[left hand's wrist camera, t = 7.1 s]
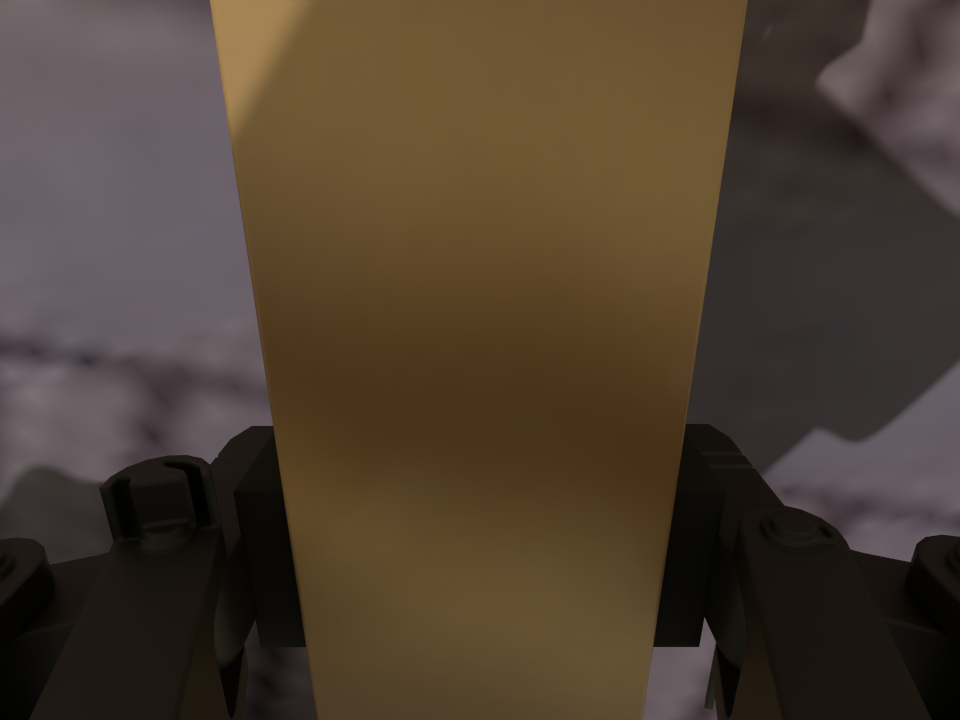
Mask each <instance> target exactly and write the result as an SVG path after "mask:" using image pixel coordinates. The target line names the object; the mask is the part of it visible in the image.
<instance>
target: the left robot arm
mask: <svg viewBox="0 0 960 720" xmlns="http://www.w3.org/2000/svg"><path fill="white" fill-rule="evenodd" d="M99 489H100V492H101V496H102V500H103V503H104V507H105V511H106V514H107V518H108V522H109V525H110V529H111V533H112V536H113V540H114V543H113V545H112V547H111V549H110V551H109V553H105V554H101V555H97V556H93V557H88V558H83V559H78V560H73V561H68V562H63V563H58V564H53V565H49V562H48V559H47V555H46V552H45V549H44V547H43V546H42V545H41V544H39V543H38V542H37V541H35V540H32V539H25V538H10V539H2V540H0V720H243V712H244V703H245V695H246V686H247V678H248V663H247V656H246V651H245V646H244V643H245V641H246V638H247V636H248V634H249V632H250V630H251V628H252V625H253V623H254V621H255V619H256V624H257V629H258V635H259V641H260V646H261V647H306V642H305V636H304V629H303V622H302V616H301V609H300V602H299V595H298V589H297V582H296V575H295V569H294V562H293V555H292V548H291V542H290V535H289V528H288V522H287V515H286V508H285V501H284V495H283V488H282V481H281V475H280V468H279V461H278V455H277V448H276V441H275V434H274V428H273V426H251V427H250V428H248V429H246V430H245V431H243V432H242V433H240V434H238V435H237V436H235V437H233V438H232V439H230V441H229V442H228V443H227V444H226V446H225V447H224V448H223V449H222V451H221V452H220V453H219V454H218V458H215V459H214V461H213V462H212V463H211V464H208V463H207V462H206V461H204V460H203V459H202V458H198V457H193V456H188V455H175V456H164V457H159V458H154V459H149V460H145V461H143V462H140V463H137V464H134V465H132V466H129V467H126V468H125V469H123V470H121V471H120V472H118V473H116V474H115V475H113V476H111V477H110V478H109V479H108V480H107V481H106V482H105V483H104V484H103V485H102V486H101V487H100V488H99ZM704 617H705V619H706V621H707V623H708V625H709V627H710V630H711V632H712V634H713V636H714V638H715V641H716V646H715V651H714V656H713V662H712V667H711V672H710V677H709V683H708V688H707V693H706V700H705V706H704V708H707V709H713V704H714V699H715V702H716V710H717V718H718V720H960V537H957V536H948V535H937V536H930V537H925V538H924V539H923V540H921V541H920V542H919V543H917V545H916V548H915V551H914V554H913V557H912V560H911V562H906V561H901V560H896V559H891V558H886V557H881V556H876V555H871V554H866V553H861V552H857V551H854V550H850V548H849V546H848V544H847V542H846V540H845V539H844V538H843V536H842V535H841V534H840V533H839V531H838V530H837V529H836V528H834V527H833V526H832V525H830V524H829V523H827V522H826V521H824V520H823V519H822V518H820V517H817V516H815V515H813V514H810V513H808V512H806V511H803V510H801V509H796V508H792V507H788V506H784V505H783V503H782V502H781V501H780V500H779V498H778V497H777V496H776V495H775V493H774V492H773V491H772V490H771V488H770V487H769V486H768V485H767V483H766V482H765V481H764V480H763V478H762V477H761V476H760V475H759V473H758V472H757V471H756V470H755V469H752V465H751V463H750V462H749V461H748V460H747V458H746V457H745V456H742V452H741V451H740V450H739V448H738V447H737V446H736V445H735V443H734V442H733V441H732V440H731V439H730V437H728V436H727V435H725V434H723V433H722V432H720V431H718V430H717V429H715V428H714V427H712V426H710V425H709V424H686V426H685V432H684V439H683V446H682V453H681V460H680V467H679V473H678V480H677V487H676V494H675V501H674V507H673V514H672V521H671V528H670V535H669V541H668V548H667V555H666V562H665V569H664V575H663V582H662V589H661V596H660V603H659V610H658V616H657V623H656V630H655V637H654V644H653V647H699V644H700V639H701V633H702V627H703V621H704Z"/></svg>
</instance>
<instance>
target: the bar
mask: <svg viewBox="0 0 960 720" xmlns="http://www.w3.org/2000/svg"><path fill="white" fill-rule="evenodd" d="M747 3H748V0H210V5H211V12H212V19H213V25H214V32H215V39H216V45H217V52H218V59H219V65H220V72H221V79H222V86H223V92H224V99H225V106H226V112H227V119H228V126H229V133H230V139H231V146H232V153H233V159H234V166H235V173H236V180H237V186H238V193H239V200H240V206H241V213H242V220H243V226H244V233H245V240H246V247H247V253H248V260H249V267H250V273H251V280H252V287H253V294H254V300H255V307H256V314H257V320H258V327H259V334H260V340H261V347H262V354H263V361H264V367H265V374H266V381H267V387H268V394H269V401H270V408H271V414H272V421H273V428H274V434H275V441H276V448H277V455H278V461H279V468H280V475H281V481H282V488H283V495H284V501H285V508H286V515H287V522H288V528H289V535H290V542H291V548H292V555H293V562H294V569H295V575H296V582H297V589H298V595H299V602H300V609H301V616H302V622H303V629H304V636H305V642H306V649H307V656H308V662H309V669H310V676H311V683H312V689H313V696H314V703H315V709H316V716H317V720H642V718H643V712H644V705H645V698H646V691H647V684H648V678H649V671H650V664H651V657H652V650H653V644H654V637H655V630H656V623H657V616H658V610H659V603H660V596H661V589H662V582H663V575H664V569H665V562H666V555H667V548H668V541H669V535H670V528H671V521H672V514H673V507H674V501H675V494H676V487H677V480H678V473H679V467H680V460H681V453H682V446H683V439H684V432H685V426H686V419H687V412H688V405H689V398H690V392H691V385H692V378H693V371H694V364H695V358H696V351H697V344H698V337H699V330H700V324H701V317H702V310H703V303H704V296H705V289H706V283H707V276H708V269H709V262H710V255H711V249H712V242H713V235H714V228H715V221H716V215H717V208H718V201H719V194H720V187H721V180H722V174H723V167H724V160H725V153H726V146H727V140H728V133H729V126H730V119H731V112H732V106H733V99H734V92H735V85H736V78H737V72H738V65H739V58H740V51H741V44H742V37H743V31H744V24H745V17H746V10H747Z"/></svg>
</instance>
